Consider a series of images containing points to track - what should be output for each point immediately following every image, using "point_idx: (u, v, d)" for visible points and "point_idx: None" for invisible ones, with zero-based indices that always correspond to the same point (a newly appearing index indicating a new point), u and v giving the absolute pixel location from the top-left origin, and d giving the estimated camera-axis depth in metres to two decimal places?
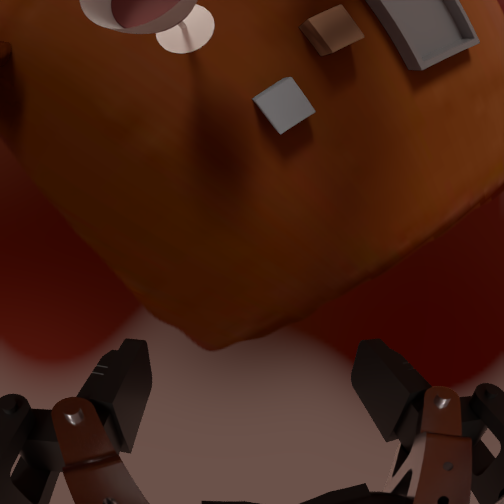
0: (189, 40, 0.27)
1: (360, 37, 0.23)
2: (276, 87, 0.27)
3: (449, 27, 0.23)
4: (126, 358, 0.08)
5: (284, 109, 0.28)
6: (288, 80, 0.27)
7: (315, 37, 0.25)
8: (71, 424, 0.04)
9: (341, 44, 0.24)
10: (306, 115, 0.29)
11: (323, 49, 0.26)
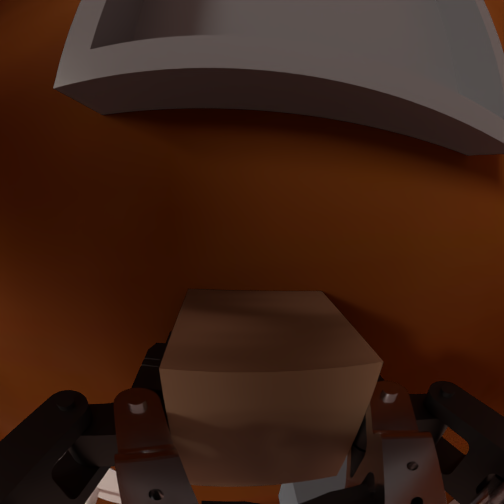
0: None
1: (371, 382, 0.06)
2: None
3: None
4: None
5: None
6: None
7: None
8: (138, 414, 0.05)
9: (335, 452, 0.06)
10: None
11: None
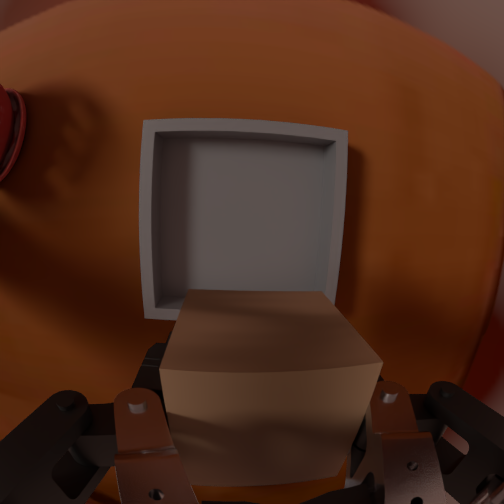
0: None
1: (370, 382, 0.06)
2: None
3: (295, 166, 0.23)
4: None
5: None
6: None
7: None
8: (138, 414, 0.05)
9: (335, 452, 0.06)
10: None
11: None
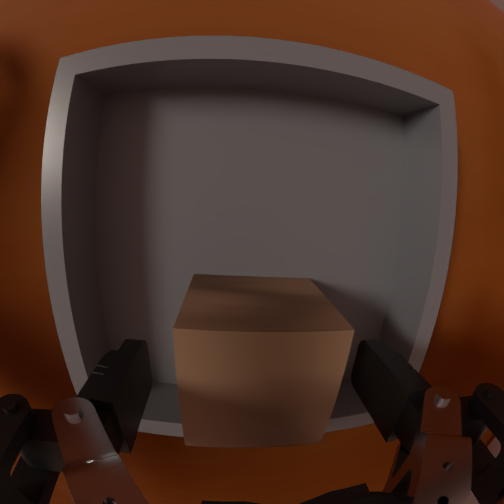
0: None
1: (345, 348, 0.08)
2: None
3: (358, 148, 0.11)
4: (126, 358, 0.08)
5: None
6: None
7: None
8: (71, 424, 0.04)
9: (318, 415, 0.08)
10: None
11: None
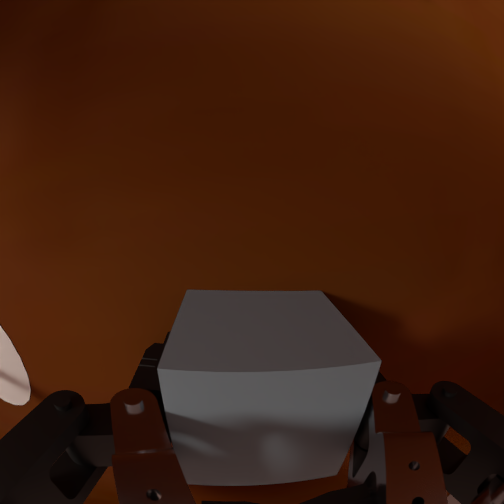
0: (8, 375, 0.10)
1: None
2: (175, 432, 0.06)
3: None
4: None
5: (275, 451, 0.06)
6: (169, 387, 0.05)
7: None
8: (135, 414, 0.05)
9: None
10: (362, 399, 0.06)
11: None
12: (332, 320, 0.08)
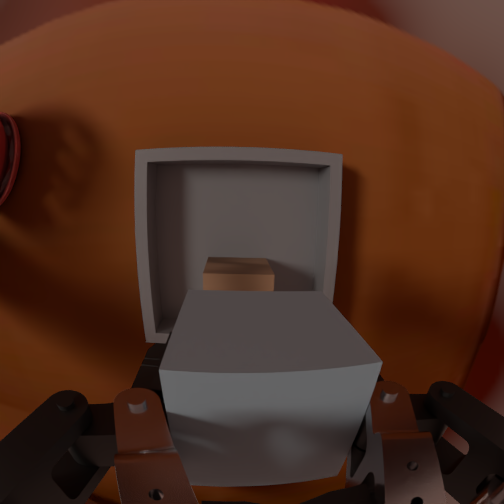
0: None
1: (271, 282, 0.20)
2: (176, 433, 0.06)
3: (290, 190, 0.24)
4: None
5: (276, 451, 0.06)
6: (170, 388, 0.05)
7: None
8: (138, 414, 0.05)
9: None
10: (363, 400, 0.06)
11: None
12: (333, 321, 0.08)
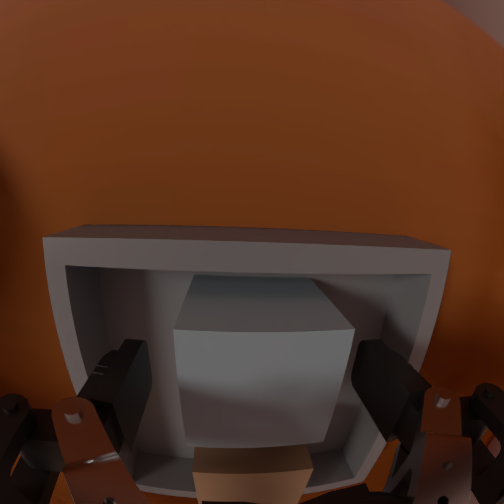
0: None
1: (307, 475, 0.09)
2: (183, 390, 0.07)
3: (344, 299, 0.13)
4: (126, 358, 0.08)
5: (268, 410, 0.08)
6: (181, 346, 0.07)
7: None
8: (71, 424, 0.04)
9: (290, 500, 0.10)
10: (340, 363, 0.08)
11: None
12: (316, 299, 0.10)
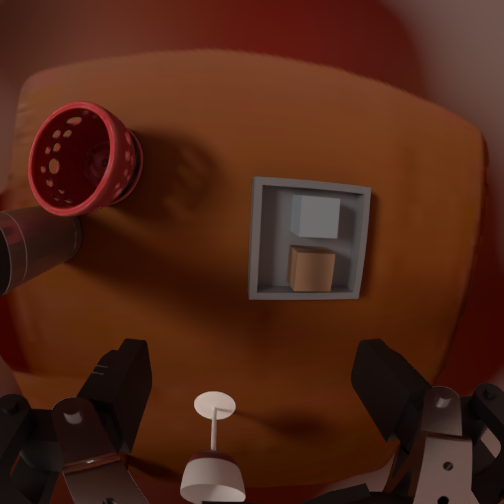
0: (226, 410, 0.45)
1: (333, 258, 0.35)
2: (301, 213, 0.33)
3: None
4: (126, 358, 0.08)
5: (321, 221, 0.34)
6: (303, 199, 0.33)
7: None
8: (71, 424, 0.04)
9: (328, 279, 0.35)
10: (338, 208, 0.34)
11: None
12: None
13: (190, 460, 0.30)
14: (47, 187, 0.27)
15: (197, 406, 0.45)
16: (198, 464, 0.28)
